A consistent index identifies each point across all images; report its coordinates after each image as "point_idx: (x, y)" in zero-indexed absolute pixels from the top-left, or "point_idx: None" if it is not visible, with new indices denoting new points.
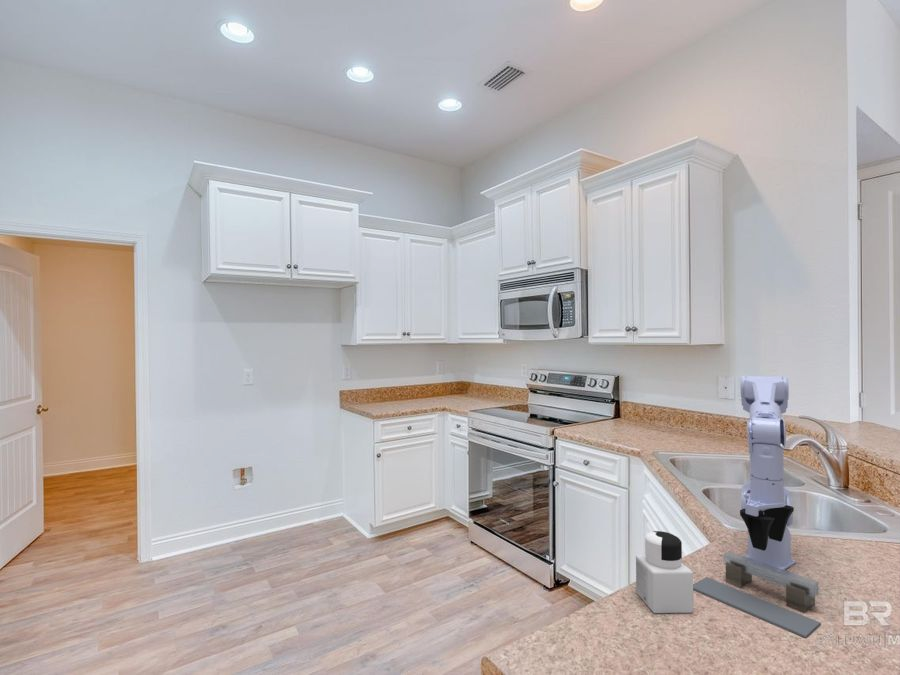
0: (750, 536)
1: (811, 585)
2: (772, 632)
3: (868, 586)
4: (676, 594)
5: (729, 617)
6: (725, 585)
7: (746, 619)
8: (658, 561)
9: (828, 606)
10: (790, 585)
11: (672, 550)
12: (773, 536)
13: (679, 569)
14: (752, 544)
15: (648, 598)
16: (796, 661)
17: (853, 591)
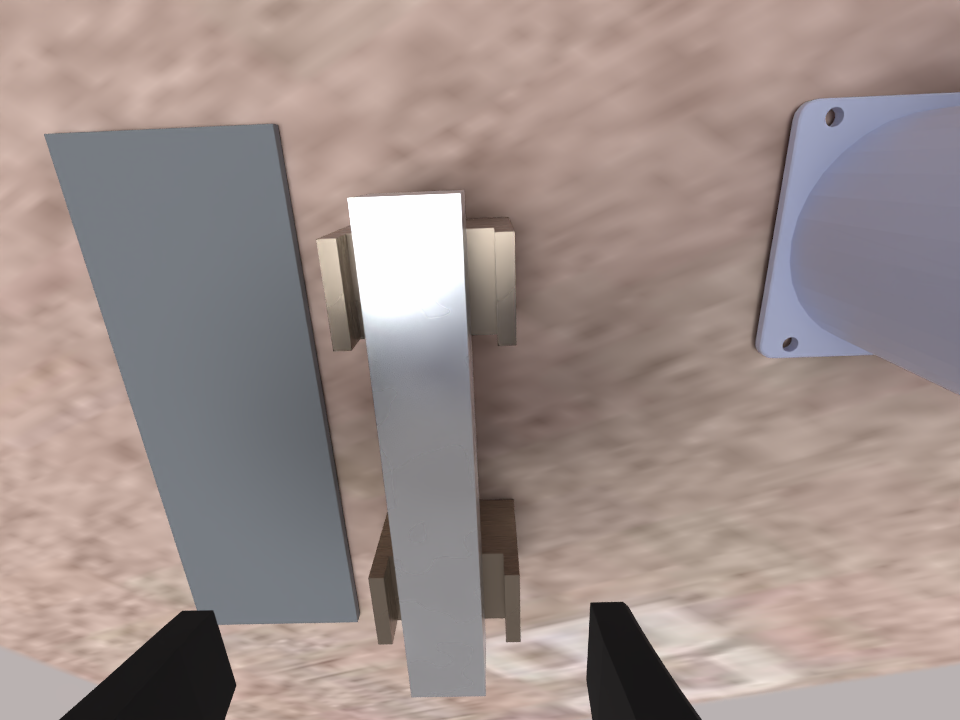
0: (71, 715)
1: (410, 686)
2: (122, 548)
3: (921, 613)
4: None
5: (36, 415)
6: (281, 261)
7: (102, 460)
8: None
9: (551, 586)
10: (384, 590)
11: None
12: (597, 665)
13: None
14: (158, 633)
15: None
16: (42, 642)
17: (807, 596)
